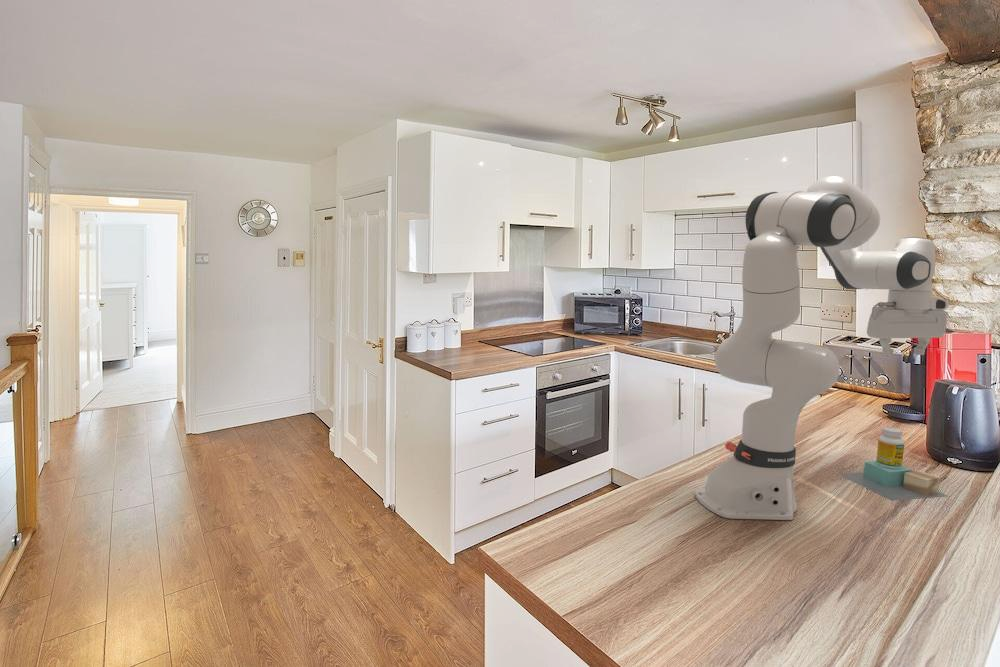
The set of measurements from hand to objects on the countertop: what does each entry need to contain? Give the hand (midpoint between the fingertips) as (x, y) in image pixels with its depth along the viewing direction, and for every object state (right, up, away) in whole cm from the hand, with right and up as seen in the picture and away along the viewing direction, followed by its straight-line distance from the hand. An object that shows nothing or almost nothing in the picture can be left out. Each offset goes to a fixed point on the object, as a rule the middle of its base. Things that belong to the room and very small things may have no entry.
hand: (903, 354), depth 136 cm
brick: (-1, -33, -7) cm, 34 cm away
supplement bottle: (-5, -29, -2) cm, 29 cm away
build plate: (-6, -34, -4) cm, 35 cm away
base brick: (-5, -32, -2) cm, 33 cm away
